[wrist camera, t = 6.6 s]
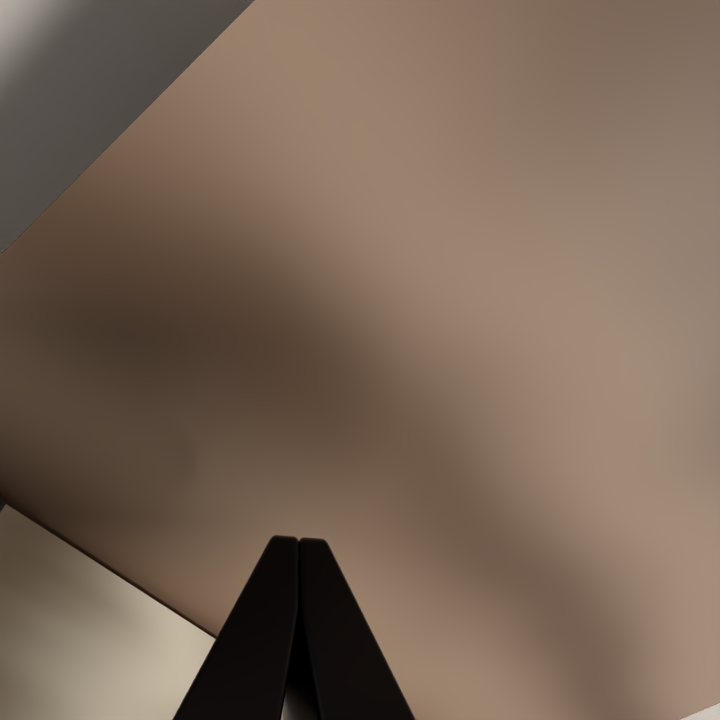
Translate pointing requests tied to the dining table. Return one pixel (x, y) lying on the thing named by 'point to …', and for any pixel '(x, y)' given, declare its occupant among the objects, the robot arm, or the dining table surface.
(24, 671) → the hinged leg
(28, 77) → the dining table surface
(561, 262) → the stool seat
